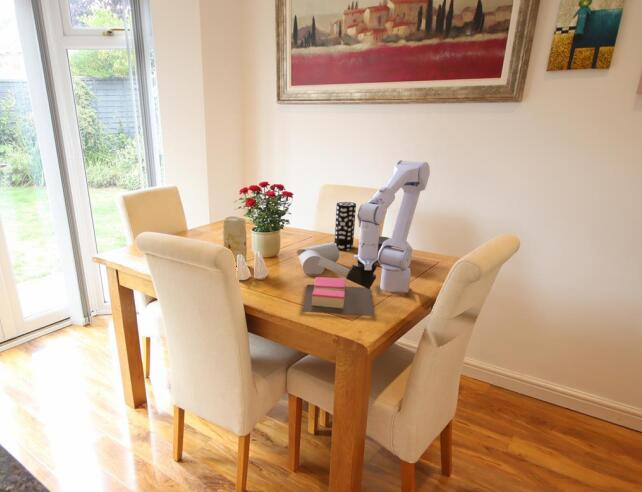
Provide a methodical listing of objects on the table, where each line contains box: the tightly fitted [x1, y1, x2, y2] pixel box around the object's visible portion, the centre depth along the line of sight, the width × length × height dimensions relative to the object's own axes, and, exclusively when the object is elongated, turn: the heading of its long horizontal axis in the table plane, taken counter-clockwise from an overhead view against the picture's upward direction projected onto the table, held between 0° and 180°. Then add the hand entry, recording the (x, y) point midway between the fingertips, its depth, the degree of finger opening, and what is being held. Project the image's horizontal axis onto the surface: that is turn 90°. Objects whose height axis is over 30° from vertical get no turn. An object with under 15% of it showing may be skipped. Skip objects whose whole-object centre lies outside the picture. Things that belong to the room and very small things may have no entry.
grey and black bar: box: [318, 257, 377, 290], centre depth 145 cm, size 18×2×4 cm, turn 79°
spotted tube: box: [333, 201, 357, 252], centre depth 204 cm, size 8×8×20 cm
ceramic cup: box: [374, 235, 393, 267], centre depth 187 cm, size 13×10×10 cm
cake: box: [313, 276, 346, 292], centre depth 157 cm, size 10×8×4 cm
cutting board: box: [301, 284, 375, 317], centre depth 153 cm, size 22×23×1 cm
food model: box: [222, 216, 248, 265], centre depth 187 cm, size 10×7×20 cm
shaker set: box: [236, 251, 269, 281], centre depth 173 cm, size 12×4×11 cm, turn 85°
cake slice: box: [312, 289, 345, 308], centre depth 149 cm, size 10×4×4 cm, turn 73°
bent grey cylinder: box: [296, 241, 340, 275], centre depth 183 cm, size 18×11×20 cm
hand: (364, 283), depth 146 cm, fingers closed on grey and black bar, 2 cm apart
